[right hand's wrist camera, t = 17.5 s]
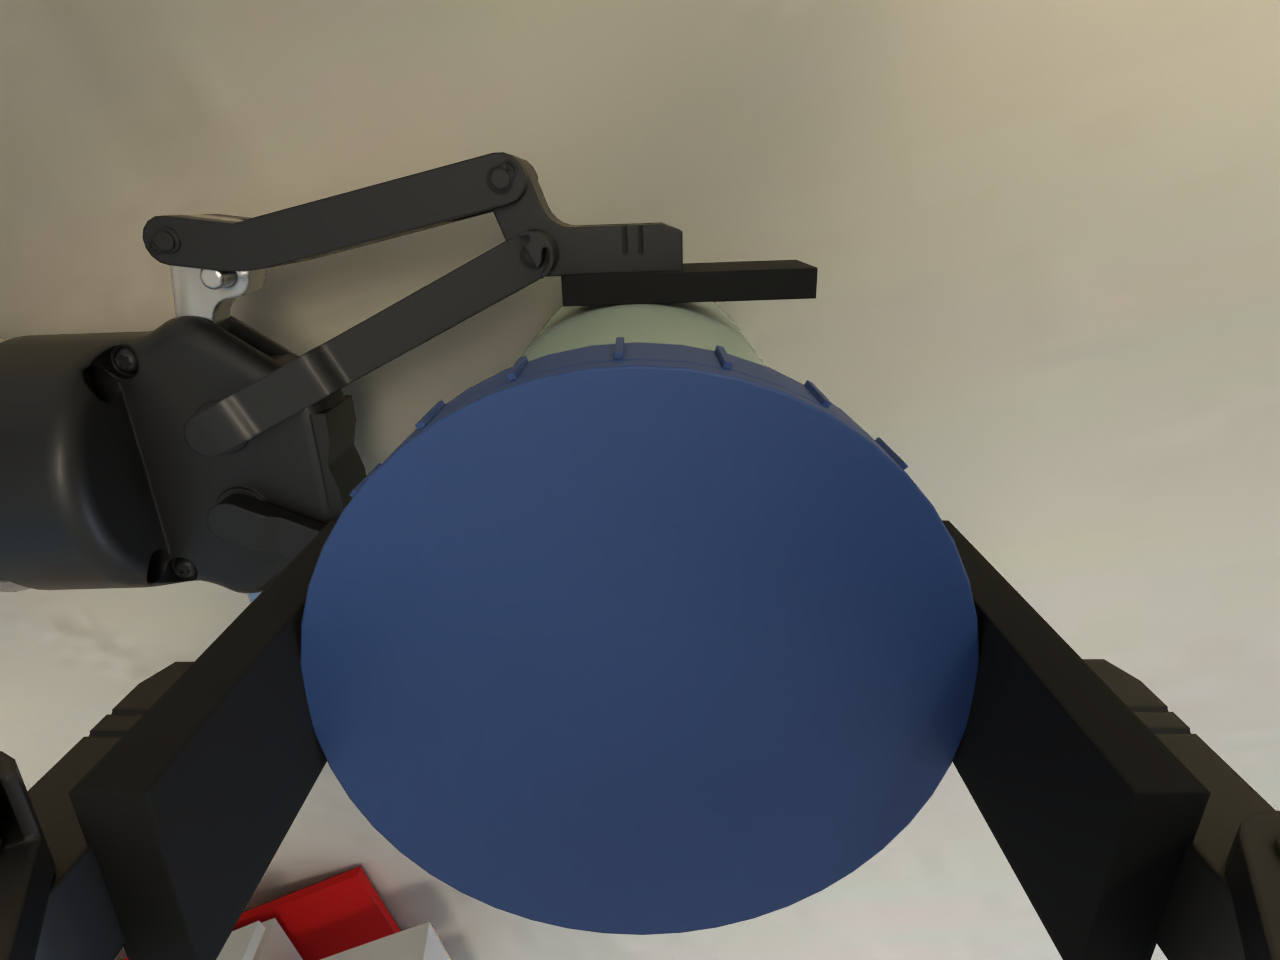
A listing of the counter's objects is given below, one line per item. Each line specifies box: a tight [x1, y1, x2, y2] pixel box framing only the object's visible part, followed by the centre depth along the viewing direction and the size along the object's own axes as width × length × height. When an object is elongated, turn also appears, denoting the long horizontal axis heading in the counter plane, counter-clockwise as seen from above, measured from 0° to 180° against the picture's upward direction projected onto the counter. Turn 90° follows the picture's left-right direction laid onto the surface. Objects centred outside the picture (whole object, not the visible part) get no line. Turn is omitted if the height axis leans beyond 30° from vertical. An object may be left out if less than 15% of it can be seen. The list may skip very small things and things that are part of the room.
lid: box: [300, 337, 979, 935], centre depth 11 cm, size 10×10×2 cm
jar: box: [521, 302, 767, 367], centre depth 19 cm, size 9×9×17 cm
